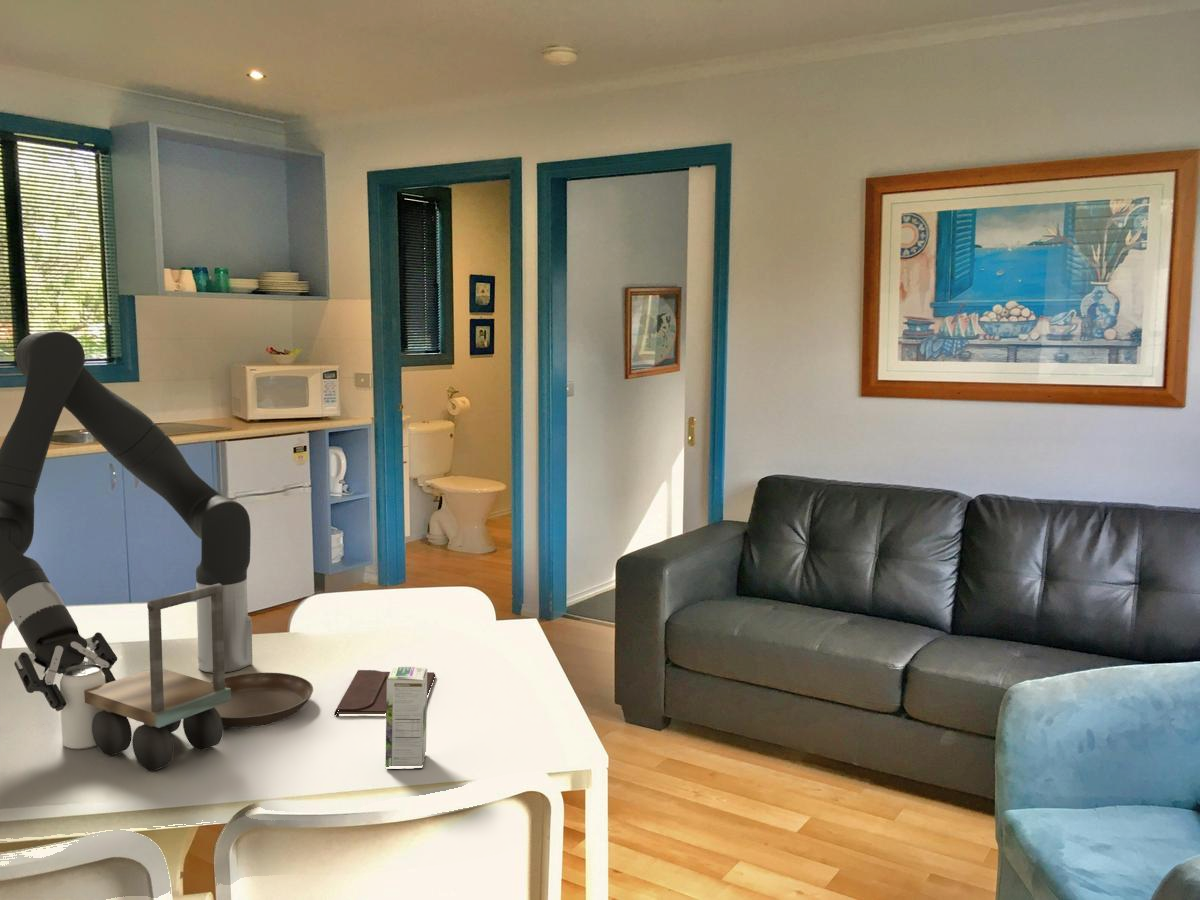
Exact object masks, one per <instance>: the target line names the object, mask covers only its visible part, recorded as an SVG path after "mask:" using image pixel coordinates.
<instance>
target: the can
mask: <svg viewBox="0 0 1200 900" xmlns="http://www.w3.org/2000/svg"><path fill="white" fill-rule="evenodd" d="M101 669H102V667H101V666H100V665H97V664H81V665H75V666H71V667H69V668H66V669H65V670H63V672H62V673H61V674H62V676H61V678H60V681H59V690H60V692H61V694H62V696H63V697H64V699H65V701H66V706H65V707H64V708H63V710H60V718H61V719H60V721H61V722H60V723H61V736H62V737H61V739H62V745H63V746H64V747H65V748H66V747H67V748H66V749H69V748H70V749H69V750H75V749H80V750H87V749H91V748H97V745H96V743H95V740H94V738H93V733H92V721H93V718H94V716H95V715H96V713H98V712H100V711H103V709H102V708H99V707H96V706H93V705H90V704H87V703H85V696H84V690H87V689H90V688H93V687H97V686H100V685H103V684H106V683H105V675H104V673H103V672H102V670H101Z"/></svg>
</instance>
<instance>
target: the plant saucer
mask: <svg viewBox="0 0 1200 900" xmlns="http://www.w3.org/2000/svg"><path fill="white" fill-rule="evenodd" d="M210 683H213V681H211V682H210ZM225 687H227V688H230V689H231V701H229V702H227V703H224V704H221V705H219V706H216V707H214V708H215V709H216V710H217V711H218V713H219V715H220V717H221V720H222V724H223V728H229V729H230V728H231V729H245V728H246V729H249V728H257V727H264V726H268V725H272V724H276V723H278V722H282V721H285V720H287V719H289V718H291V717H292V716H294V715H296V714H297V713H298V712H299V711H300V710H301V709H302V708H303V707H304V706H305V705H306V704H307V703H308V701H309V700H310V698H311V697H312V695H313V692H314V686H313V684H312V683H311V681H308V680H307V679H306V678H303V677H301V676H299V675H295V674H289V673H283V672H253V673H245V674H238V675H231V676H227V677H225ZM284 719H285V720H284Z"/></svg>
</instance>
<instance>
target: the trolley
mask: <svg viewBox="0 0 1200 900" xmlns="http://www.w3.org/2000/svg"><path fill="white" fill-rule="evenodd" d="M209 596H211V615H212V654H213V673H212V677H213V678H212V680H213V681H212V682H213V683H211V682H209V681H207V680H202V679H199V678H197V677H196V678H195V677H192V676H189V675H186V674H183V673H178V672H175V671H172V670H170V669H169V670H168V669H165V668H164V667H163V640H162V639H163V638H162V611H161V610H164V609H166V608H167V609H168V608H171V607H175V606H178V605H182V604H185V603H186V604H187V603H190V602H194V601H197V600H198V599H202V598H206V597H209ZM147 614H148V636H149V637H148V642H149V643H148V644H149V645H148V647H149V669H147V670H143V671H141V672H138V673H135V674H132V675H129V676H125V677H122V678H119V679H116V681H112V682H109V683H106V684H103V685H100V686H97V687H93V688H90V689H87V690H84V696H85V703H87V704H90V705H93V706H96V707H99V708H102V709H103V711H100V712H98V713H96V715H95V716H94V718H93V721H92V733H93V738H94V740H95V743H96V745H97V746H96V748H98V749H99V751H100V752H101V753H103V754H104V755H105V756H114V755H118V754H119V753H122V752H124V751H126V750H127V749H129V747H130V745H132V749H133V753H134V756H135V759H136V760H137V762H138V763H139V765H140V766H141V767H142V768H143V769H144V770H145V771H149V772H155V771H156V770H159V769H162V768H164V767H167V766H168V765H170V764H171V762H172V760H173V758H174V754H175V748H174V746H175V745H174V741H173V738H172V734H171V733H174V732H176V731H178V729H179V728H180V726H181V723H182V728H183V733H184V735H185V738H186V739H187V741H188V743H189V744H190V746H192V747H193V748H194V749H196V750H198V751H205V750H207V749H210V748H212V747H215V746H217V745H219V744H220V742H221V741H222V738H223V736H224V727H223V724H222V720H221V717H220V715H219V713H218V711H217V710H216V709H215V708H214V707H216V706H219V705H221V704H224V703H227V702H229V701H231V689H230V688H227V687H225V678H226V677H225V673H226V672H224V632H223V586H222V585H221V584H220V583H218V584H215V585H211V586H207V587H203V588H199V589H192V590H188V591H187V590H186V591H183V592H180V593H176V594H171V595H168V596H163V597H159V598H156V599H151V600H148V601H147ZM129 719H131V720H134V721H137V722H140V723H143V724H142V725H139V726H137V728H136V729H135V730H134V732H133V734H132V726H131V724H130V721H129ZM131 743H132V744H131Z"/></svg>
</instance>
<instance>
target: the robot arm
mask: <svg viewBox="0 0 1200 900" xmlns="http://www.w3.org/2000/svg"><path fill="white" fill-rule="evenodd" d="M85 355H86V354H85V350H84V348H83V345H82V344H81V342H80V341H79V340H78V339H77V338H76V337H75V336H74V335H73V334H71V333H69V332H66V331H63V330H47V331H44V330H43V331H38V332H34V333H32V334H29V335H26V336H25V337H24V338H23V339H21V341H20V342H18V345H17V346H16V349H15V361H16V364H17V365H16V366H17V368H18V369H19V371H20V373H21V374H23V376H24V377H25V378H26V383H25V389H24V393H23V397H22V401H21V403H20V405H19V408H18V410H17V412H16V416H15V418H14V419H13V420H14V421H13V422H12V424H11V426H10V427H9V429H8V432H7V434H6V435H5V437H4V438H3V440H2V441H3V442H2V443H1V446H0V596H1V597H2V599H3V601H4V603H5V604H6V607H7V610H8V612H9V615H10V617H11V619H12V621H13V624H14V626H16V628H17V630H18V632H19V634H20V637H22V640H23V641H24V644H25V645H26V647H27V649H28V650H29V651H30V652H31V653H29V654H28V652H21V653H20V654H19V656H18V657H17V658H16V660H15V661H14V667H15V669H16V671H17V673H18V676H19V678H20V680H21V682H22V684H23V686H24V688H25V691H26V692H27V693H29V694H33V693H34V692H40V693H41V694H43V695H44V697H45V700H46V701H47V703H48V705H49V706H50V707H51V708H52V709H53V710H55V711H56V712H61V710H63V708H64V707H65V706H66V701H65V699H64V697H63V696H62V694H61V692H60V687H58V685H57V683H55V684H54V682H55V677H56V674H58V675H61V674H63V673H62V672H63V670H65V669H66V668H69V667H71V666H75V665H81V664H97V665H100V666H101V667H102V669H101V670H102V672H103V673H104V675H105V683H109V682H112V681H116V680H117V679H116V678H115V676H114V675H113V673H112V671H111V669H112V668H113V666H114V665H115V664H116V662H117V661H118V656H117V655H116V654H115V652H114V650H113V649H112V647H111V646H110V644H109V642H107V640H106V638H105V637H104V635H103V634H102V633H101V632H100V631H99V632H95V633H94V634H93V635H92V636H90V637H88V638H85V637H83V636H82V635H81V634H80V633H79V629H78V626H77V624H76V622H75V620H74V619H73V617H72V615H71V614H70V612H69V610H68V608H67V606H66V604H65V603H64V601H63V599H62V598H61V596H60V594H59V593H58V592H57V590H56V589H55V588H54V587H53V585H52V584H51V582H50V580H49V578H48V576H47V575H46V573H45V571H44V570H43V568H42V567H41V565H40V564H39V562H38V561H36V560H35V559H33V558H31V557H28V556H26V555H25V553H26V552H27V551H28V550H29V548H30V546H31V545H32V541H33V537H34V531H35V495H36V491H37V488H38V485H39V483H40V479H41V475H42V472H43V468H44V465H45V462H46V458H47V454H48V451H49V449H50V446H51V441H52V438H53V435H54V433H55V431H56V428H57V425H58V422H59V419H60V416H61V414H62V411H63V409H64V408H65V409H66V410H67V411H68V412H69V413H71V414H72V415H73V416H74V417H75V418H76V420H77V421H78V422H79V423H80V424H81V425H82V426H83V428H85V429H86V431H88V433H89V434H90V435H91V436H92V437H93V438H94V439H95V440H96V441H97V442H98V443H99V444H100V445H101V446H102V447H103V448H104V449H105V450H106V451H107V452H108V453H109V454H110V456H112V457H113V458H114V459H115V460H117V462H118V463H119V464H120V465H122V466H123V467H124V469H126V470H127V471H128V472H129V473H131V474H132V475H133V476H134V477H136V478H137V479H138V480H140V482H141V483H143V484H144V485H145V486H147V487H148V488H150V490H152V491H153V492H155V493H156V494H158V495H159V496H160V497H162V499H164V500H165V501H166V502H167V503H168V504H169V505H170V506H171V507H172V508H173V510H174V511H175V512H176V514H178V515H179V516H180V518H181V519H182V520H183V521H184V523H186V525H187V526H188V528H190V530H191V531H192V532H193V533H194V535H196V537H198V538H199V539H200V540H201V556H200V557H201V559H200V563H199V564H198V565H197V567H196V569H195V579H196V581H195V586H196V587H195V588H196V589H199V588H203V587H207V586H211V585H215V584H218V583H220V584H221V585H222V586H223V632H224V673H229V672H230V673H231V672H235V671H238V670H241V669H244V668H245V667H248V666H253V623H252V617H251V616H249V614H248V611H249V610H248V606H249V605H248V569H249V565H250V563H251V541H252V539H251V532H252V531H251V530H252V529H251V519H250V515H249V512H248V511H247V509H246V508H245V507H244V505H242V504H241V503H239V502H237V501H236V500H234V499H230V498H228V497H226V496H224V495H223V494H221V493H220V492H218V491H217V490H216V489H214V488H213V487H212V486H210V485H209V484H208V483H207V482H205V480H204V479H202V478H201V477H200V476H199V475H198V474H197V473H196V472H195V471H194V470H193V469H192V468H191V466H190V465H189V464H188V462H187V460H186V459H185V458H184V456H183V453H181V451H180V449H179V448H178V447H177V445H176V443H174V441H173V440H172V439H171V438H170V437H169V436H168V434H166V433H165V432H164V431H163V430H162V429H161V427H160V426H158V424H156V423H155V422H154V421H153V420H152V418H150V417H149V416H148V415H147V414H145V413H144V411H142V410H140V409H139V408H138V407H136V406H135V405H133V404H132V403H130V402H128V401H127V400H126V399H124V398H123V397H121V396H120V395H118V394H116V393H115V392H113V391H111V390H110V389H109V388H108V387H106V386H105V385H103V383H101V382H100V381H99V380H98V379H97V378H96V377H95V376H94V375H93V374H92V373H91V372H90V371H89V370H88V369H87V367H86V366H85V361H86V356H85ZM196 617H197V622H196V623H197V652H198V653H197V655H198V656H197V659H198V669H199V670H200V671H202V672H204V673H205V672H206V673H212V674H213V654H212V615H211V596H209V597H206V598H202V599H198V600H196ZM88 648H89V649H88ZM85 659H87V660H86V661H85ZM35 663H36V664H37V665H39V666H41V667H42V668H43V673H42V676H41V679H40V676H39V674H38V673H37V670H36V669H35V667H34V665H35Z"/></svg>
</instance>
